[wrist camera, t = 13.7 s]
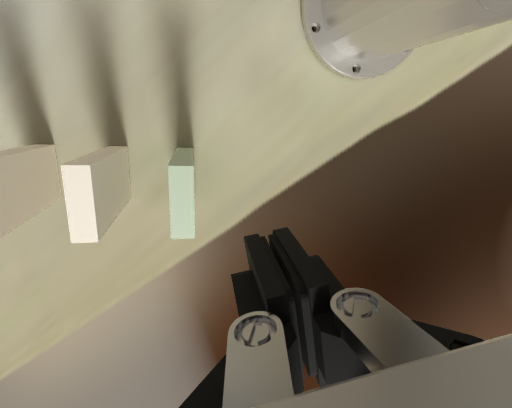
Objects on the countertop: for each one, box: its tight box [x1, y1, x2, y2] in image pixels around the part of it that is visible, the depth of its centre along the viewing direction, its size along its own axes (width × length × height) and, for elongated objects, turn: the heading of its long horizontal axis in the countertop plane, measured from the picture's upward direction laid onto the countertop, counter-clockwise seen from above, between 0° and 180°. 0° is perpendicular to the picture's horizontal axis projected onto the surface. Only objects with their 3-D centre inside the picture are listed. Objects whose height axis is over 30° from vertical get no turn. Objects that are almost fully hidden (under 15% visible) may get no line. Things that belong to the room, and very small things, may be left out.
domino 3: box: [168, 147, 195, 239], centre depth 25 cm, size 2×5×11 cm, turn 177°
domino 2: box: [61, 146, 131, 243], centre depth 24 cm, size 2×5×11 cm, turn 177°
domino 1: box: [0, 144, 62, 238], centre depth 23 cm, size 2×5×11 cm, turn 177°
